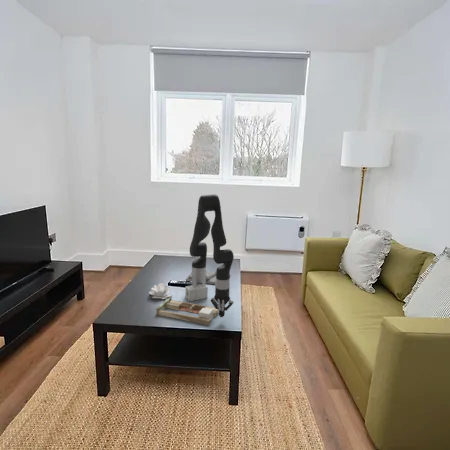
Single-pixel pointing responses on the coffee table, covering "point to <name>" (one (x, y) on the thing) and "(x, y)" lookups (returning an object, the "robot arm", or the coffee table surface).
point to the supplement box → (196, 292)
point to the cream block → (206, 313)
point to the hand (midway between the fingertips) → (221, 316)
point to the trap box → (184, 307)
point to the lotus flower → (160, 291)
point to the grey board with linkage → (209, 277)
